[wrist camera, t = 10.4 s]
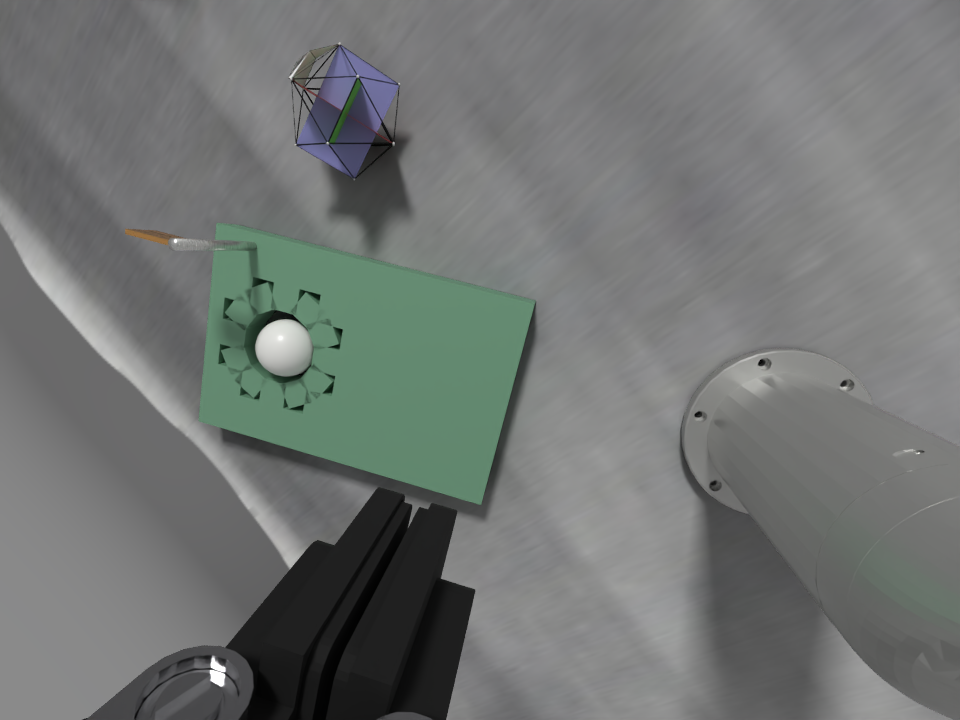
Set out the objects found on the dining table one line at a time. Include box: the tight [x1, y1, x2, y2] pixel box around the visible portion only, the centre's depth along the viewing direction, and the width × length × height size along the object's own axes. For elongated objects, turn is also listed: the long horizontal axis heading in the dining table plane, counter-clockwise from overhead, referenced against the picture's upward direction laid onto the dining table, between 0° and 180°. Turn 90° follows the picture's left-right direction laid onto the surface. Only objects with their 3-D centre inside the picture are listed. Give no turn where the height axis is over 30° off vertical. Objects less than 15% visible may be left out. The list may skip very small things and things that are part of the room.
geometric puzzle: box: [289, 43, 400, 180], centre depth 31 cm, size 7×7×8 cm
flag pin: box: [125, 229, 257, 251], centre depth 32 cm, size 4×1×10 cm, turn 77°
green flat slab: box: [199, 223, 536, 505], centre depth 37 cm, size 24×16×2 cm, turn 77°
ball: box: [255, 319, 314, 376], centre depth 36 cm, size 4×4×4 cm
